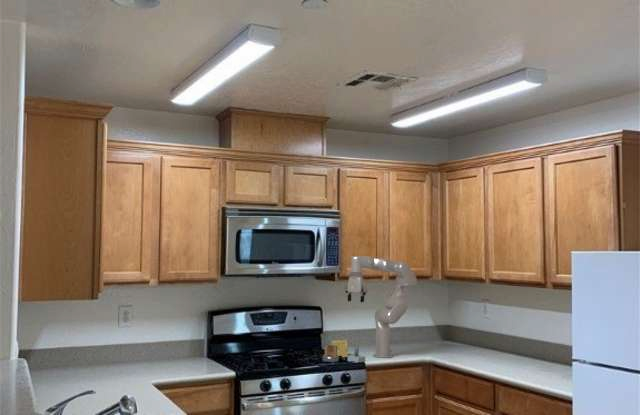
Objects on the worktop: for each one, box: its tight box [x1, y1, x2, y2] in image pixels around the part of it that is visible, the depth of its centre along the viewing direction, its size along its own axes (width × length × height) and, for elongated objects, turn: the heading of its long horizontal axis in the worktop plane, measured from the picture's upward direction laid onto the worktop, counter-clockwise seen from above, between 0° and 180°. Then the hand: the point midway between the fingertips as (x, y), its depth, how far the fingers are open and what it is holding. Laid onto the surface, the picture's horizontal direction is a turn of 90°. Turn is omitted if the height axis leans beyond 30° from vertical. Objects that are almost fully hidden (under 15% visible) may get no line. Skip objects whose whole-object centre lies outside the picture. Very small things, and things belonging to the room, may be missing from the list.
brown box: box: [324, 344, 337, 357], centre depth 385 cm, size 7×7×6 cm
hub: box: [322, 354, 340, 363], centre depth 385 cm, size 10×10×8 cm
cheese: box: [331, 339, 349, 358], centre depth 405 cm, size 10×11×10 cm
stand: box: [347, 345, 366, 363], centre depth 386 cm, size 8×8×9 cm
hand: (355, 301), depth 398 cm, fingers open, 9 cm apart
